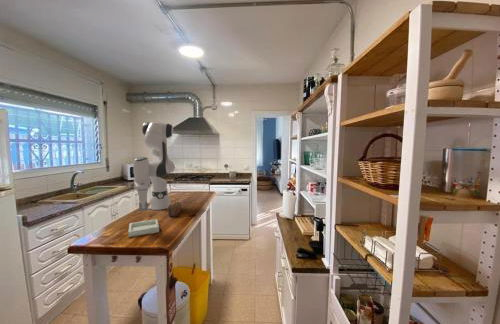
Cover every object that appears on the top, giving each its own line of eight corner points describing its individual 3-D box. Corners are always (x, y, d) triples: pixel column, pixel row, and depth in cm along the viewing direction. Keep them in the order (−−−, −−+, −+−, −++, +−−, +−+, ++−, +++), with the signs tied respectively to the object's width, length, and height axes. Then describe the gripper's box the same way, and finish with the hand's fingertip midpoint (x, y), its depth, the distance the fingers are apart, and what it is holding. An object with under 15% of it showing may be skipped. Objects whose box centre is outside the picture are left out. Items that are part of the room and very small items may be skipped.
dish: (129, 227, 138) (129, 223, 138) (157, 223, 145) (157, 219, 145) (128, 237, 124) (128, 231, 123) (159, 232, 131) (159, 227, 130)
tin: (170, 217, 157) (170, 206, 157) (166, 217, 158) (166, 205, 157) (181, 211, 172) (181, 200, 171) (177, 211, 173) (177, 200, 172)
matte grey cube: (139, 209, 134) (139, 201, 134) (147, 208, 136) (147, 200, 136) (139, 211, 130) (139, 203, 130) (147, 210, 132) (147, 202, 132)
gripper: (136, 182, 140) (137, 203, 141) (136, 187, 122) (137, 212, 123) (147, 181, 143) (148, 202, 144) (148, 186, 125) (149, 210, 126)
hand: (143, 207), depth 133 cm, fingers closed on matte grey cube, 4 cm apart
